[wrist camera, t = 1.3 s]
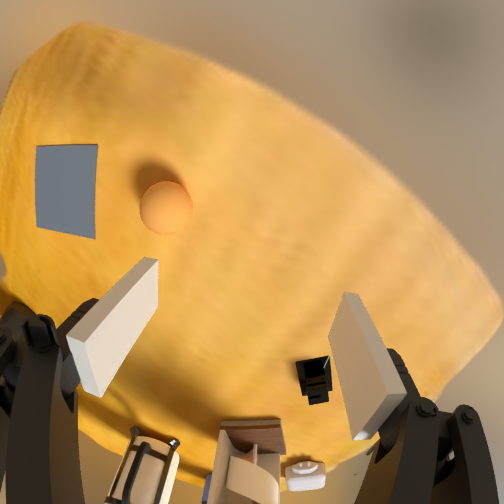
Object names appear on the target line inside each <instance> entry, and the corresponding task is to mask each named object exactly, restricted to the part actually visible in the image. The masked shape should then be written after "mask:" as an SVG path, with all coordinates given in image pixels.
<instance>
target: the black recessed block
mask: <svg viewBox="0 0 504 504" xmlns="http://www.w3.org/2000/svg"><path fill="white" fill-rule="evenodd" d="M296 367H297V372H298V377H299V382H300V387H301V392H302V396H306V395H308V401H309V405H313V404H319V403H324V402H329V397H328V391H332V377H331V366H330V356H324V357H319V358H314V359H308V360H303V361H297V362H296Z"/></svg>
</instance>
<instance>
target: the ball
mask: <svg viewBox="0 0 504 504" xmlns="http://www.w3.org/2000/svg"><path fill="white" fill-rule="evenodd" d="M192 210H193V205H192V200H191V197H190V195H189V193H188V192H187V190H186V189H185V188H184V187H183V186H181V185H179V184H177V183H175V182H171V181H163V182H158V183H156V184H154V185H152V186H151V187H150V188H148V190H147V191H146V192H145V193H144V195H143V197H142V199H141V202H140V216H141V219H142V221H143V223H144V224H145V226H146V227H147V228H148V229H149V230H151V231H152V232H154V233H157V234H160V235H171V234H174V233H177V232H179V231H180V230H182V229H183V228H184V227H185V226H186V225H187V224H188V222H189V220H190V218H191V215H192Z"/></svg>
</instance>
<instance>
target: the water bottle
mask: <svg viewBox="0 0 504 504" xmlns="http://www.w3.org/2000/svg"><path fill="white" fill-rule="evenodd" d="M211 478H212V474H208V475H207V476H206V481H205V486H204V491H203V497H202V504H207V500H208V495H209V489H210V483H211Z"/></svg>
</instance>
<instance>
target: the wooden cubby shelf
mask: <svg viewBox="0 0 504 504" xmlns="http://www.w3.org/2000/svg"><path fill="white" fill-rule="evenodd" d="M280 455H286V444H285V439H284V434H283V429H282V424H281V419H271V420H253V421H222V422H221V427H220V433H219V439H218V444H217V450H216V455H215V461H214V467H213V472H212V478H211V483H210V489H209V495H208V500H207V504H280Z"/></svg>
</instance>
